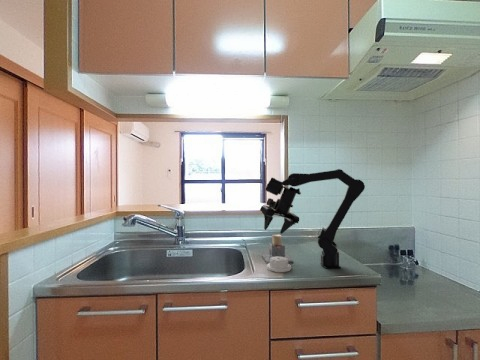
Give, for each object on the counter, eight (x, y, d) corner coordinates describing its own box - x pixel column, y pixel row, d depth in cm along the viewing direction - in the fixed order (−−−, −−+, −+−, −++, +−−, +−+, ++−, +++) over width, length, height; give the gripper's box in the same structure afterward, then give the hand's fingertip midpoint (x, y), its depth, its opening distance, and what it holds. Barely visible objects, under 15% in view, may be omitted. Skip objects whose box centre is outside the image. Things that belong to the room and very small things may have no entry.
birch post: (279, 255, 128) (279, 234, 129) (281, 257, 125) (281, 235, 125) (271, 255, 128) (271, 234, 128) (273, 258, 124) (273, 236, 124)
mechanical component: (267, 264, 119) (266, 272, 109) (267, 254, 119) (266, 261, 109) (290, 265, 118) (291, 273, 108) (290, 255, 118) (291, 262, 108)
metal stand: (286, 255, 133) (285, 241, 133) (293, 262, 121) (293, 246, 121) (261, 256, 132) (261, 242, 132) (266, 263, 120) (266, 247, 120)
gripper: (292, 199, 133) (279, 227, 135) (261, 189, 124) (248, 220, 126) (305, 207, 123) (292, 238, 125) (273, 197, 115) (259, 230, 117)
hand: (273, 231), depth 124 cm, fingers open, 9 cm apart
